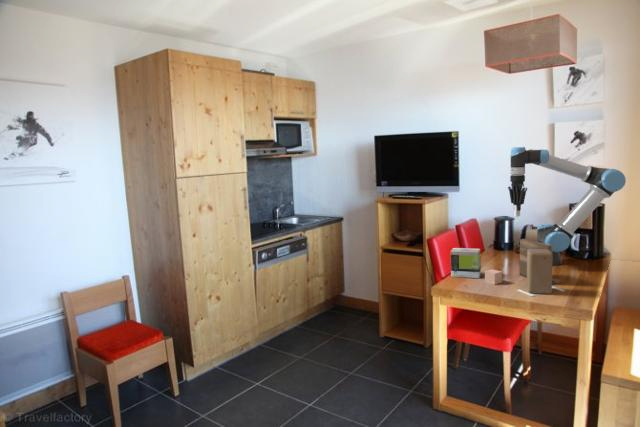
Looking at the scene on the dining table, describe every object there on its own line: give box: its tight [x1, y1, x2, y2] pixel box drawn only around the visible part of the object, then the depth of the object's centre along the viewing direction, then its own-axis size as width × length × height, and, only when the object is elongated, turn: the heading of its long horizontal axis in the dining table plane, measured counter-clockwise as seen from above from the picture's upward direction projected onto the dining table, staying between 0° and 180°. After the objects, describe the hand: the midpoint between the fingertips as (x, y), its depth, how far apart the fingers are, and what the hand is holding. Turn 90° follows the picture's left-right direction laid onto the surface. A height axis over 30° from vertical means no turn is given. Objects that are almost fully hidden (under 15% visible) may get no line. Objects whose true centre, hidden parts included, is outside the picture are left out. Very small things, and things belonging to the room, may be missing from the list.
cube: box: [484, 269, 503, 285], centre depth 235 cm, size 6×6×6 cm
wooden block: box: [526, 249, 553, 295], centre depth 217 cm, size 10×10×20 cm
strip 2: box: [552, 285, 565, 292], centre depth 221 cm, size 2×10×1 cm, turn 17°
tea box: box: [450, 247, 482, 279], centre depth 249 cm, size 15×10×15 cm
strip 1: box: [516, 288, 535, 297], centre depth 216 cm, size 2×10×1 cm, turn 17°
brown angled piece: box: [518, 238, 561, 285], centre depth 236 cm, size 8×20×20 cm, turn 17°
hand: (517, 216), depth 255 cm, fingers closed
